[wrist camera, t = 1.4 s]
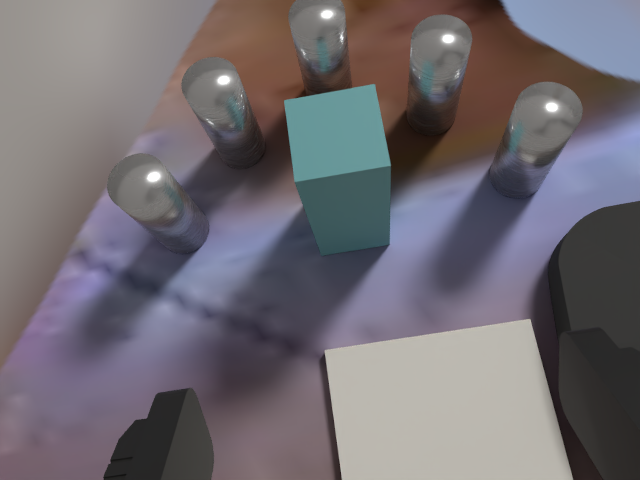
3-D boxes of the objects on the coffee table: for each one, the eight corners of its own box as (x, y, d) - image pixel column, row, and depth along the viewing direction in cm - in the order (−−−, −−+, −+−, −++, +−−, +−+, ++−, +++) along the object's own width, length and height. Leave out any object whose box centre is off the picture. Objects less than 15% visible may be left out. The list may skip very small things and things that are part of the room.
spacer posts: (501, 39, 36) (528, -50, 29) (548, 193, 32) (590, 131, 25) (156, 102, 37) (107, 31, 31) (162, 257, 33) (107, 213, 27)
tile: (527, 320, 30) (530, 318, 29) (589, 551, 26) (593, 553, 25) (325, 351, 30) (324, 350, 30) (356, 580, 27) (356, 583, 26)
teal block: (377, 182, 33) (374, 83, 24) (389, 244, 32) (390, 165, 23) (312, 194, 34) (284, 100, 24) (321, 255, 32) (294, 182, 23)
